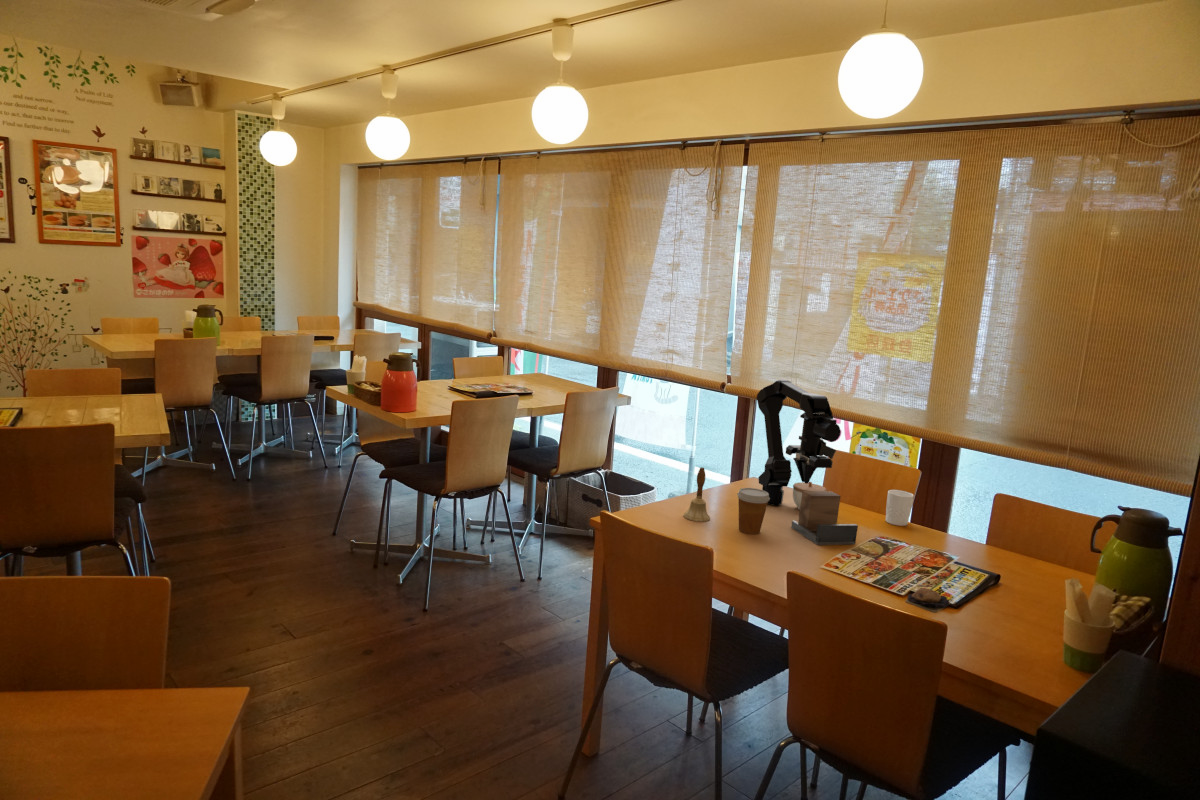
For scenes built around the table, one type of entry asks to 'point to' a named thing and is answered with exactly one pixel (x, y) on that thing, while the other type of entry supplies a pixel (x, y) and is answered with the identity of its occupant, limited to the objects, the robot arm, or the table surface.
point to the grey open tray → (829, 533)
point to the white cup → (898, 507)
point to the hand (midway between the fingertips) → (805, 482)
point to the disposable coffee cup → (752, 509)
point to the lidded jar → (804, 487)
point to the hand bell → (698, 502)
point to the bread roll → (928, 600)
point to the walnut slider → (818, 508)
